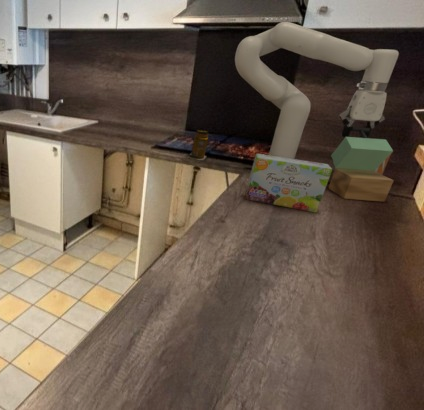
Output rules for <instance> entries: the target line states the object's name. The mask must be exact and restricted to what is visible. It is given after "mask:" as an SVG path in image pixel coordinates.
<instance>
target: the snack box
mask: <svg viewBox="0 0 424 410" xmlns="http://www.w3.org/2000/svg"><path fill="white" fill-rule="evenodd" d="M251 167H252V168H251V170H250V174H249V179H248V181H247V185H246V186H247V187H246V189H245V200H248V201H254V202H260V203H265V204H270V205H275V206H279V207H285V208H290V209H295V210H301V211H305V212H310V213H317V212H318V209H319V206H320V204H321V201H322V199H323V197H324V193H325V191H326V188H327V186H328V183H329V180H330V178H331V176H332V172H333V168H332V167H331V166H330V164H329V163H323V162H316V161H311V160H310V161H309V160H303V159H298V158H297V159H296V158H294V159H290V158H284V157H277V156H270V155H269V154H262V153H256V154H255V157H254V160H253V163H252V166H251Z"/></svg>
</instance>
